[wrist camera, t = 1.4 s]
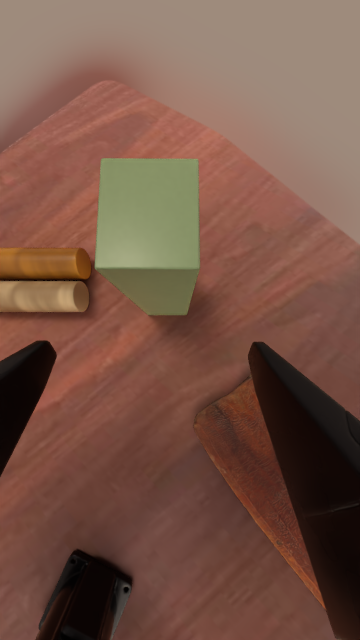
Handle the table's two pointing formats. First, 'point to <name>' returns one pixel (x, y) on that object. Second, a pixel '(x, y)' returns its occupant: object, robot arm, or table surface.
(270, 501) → the wooden tablet
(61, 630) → the robot arm
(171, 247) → the bar
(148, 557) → the table surface
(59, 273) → the rods
